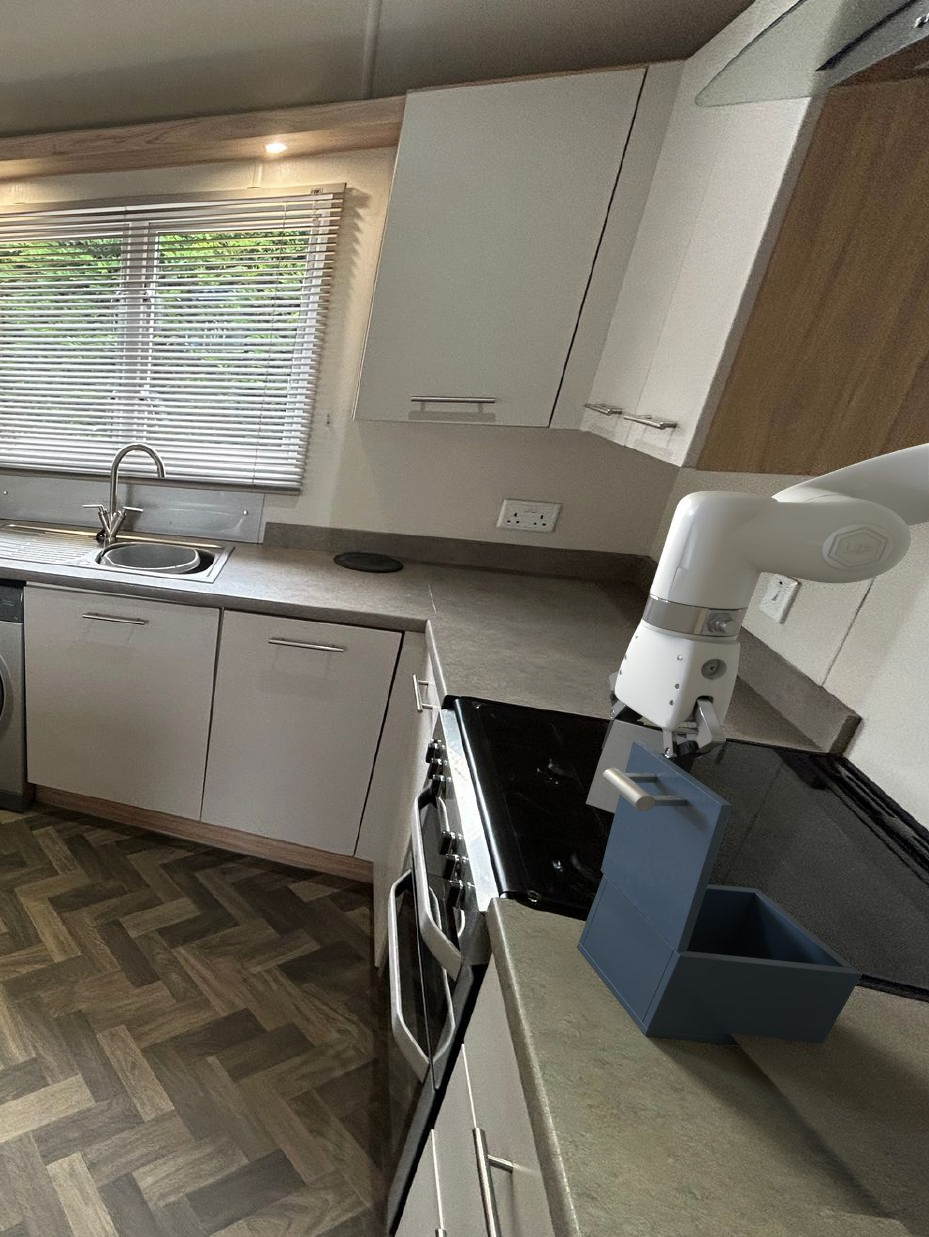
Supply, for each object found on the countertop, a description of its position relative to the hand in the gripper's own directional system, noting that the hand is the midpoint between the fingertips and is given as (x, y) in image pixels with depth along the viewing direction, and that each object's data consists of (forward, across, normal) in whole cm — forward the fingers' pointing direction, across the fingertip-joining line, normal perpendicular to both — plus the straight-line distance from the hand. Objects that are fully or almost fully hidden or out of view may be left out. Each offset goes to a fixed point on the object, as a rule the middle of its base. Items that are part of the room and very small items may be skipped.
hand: (640, 768), depth 79 cm
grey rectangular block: (+6, 0, 0) cm, 6 cm away
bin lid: (0, -14, +6) cm, 15 cm away
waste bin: (+19, -14, -1) cm, 23 cm away
